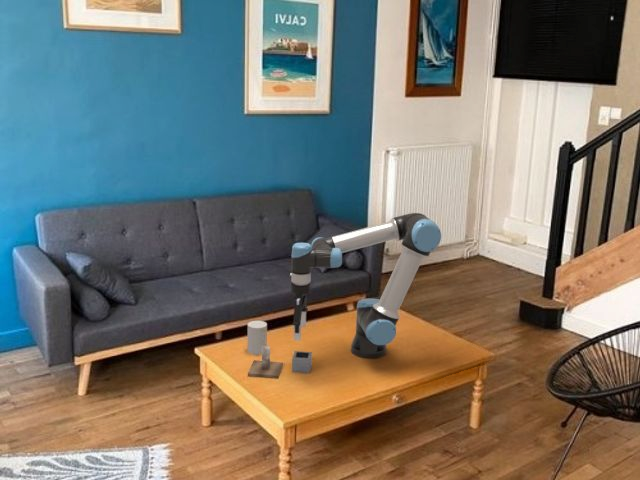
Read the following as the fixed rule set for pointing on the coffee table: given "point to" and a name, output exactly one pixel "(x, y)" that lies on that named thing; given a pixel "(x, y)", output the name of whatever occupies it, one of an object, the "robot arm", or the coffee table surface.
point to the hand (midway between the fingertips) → (299, 333)
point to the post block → (265, 366)
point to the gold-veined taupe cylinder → (256, 337)
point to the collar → (301, 362)
